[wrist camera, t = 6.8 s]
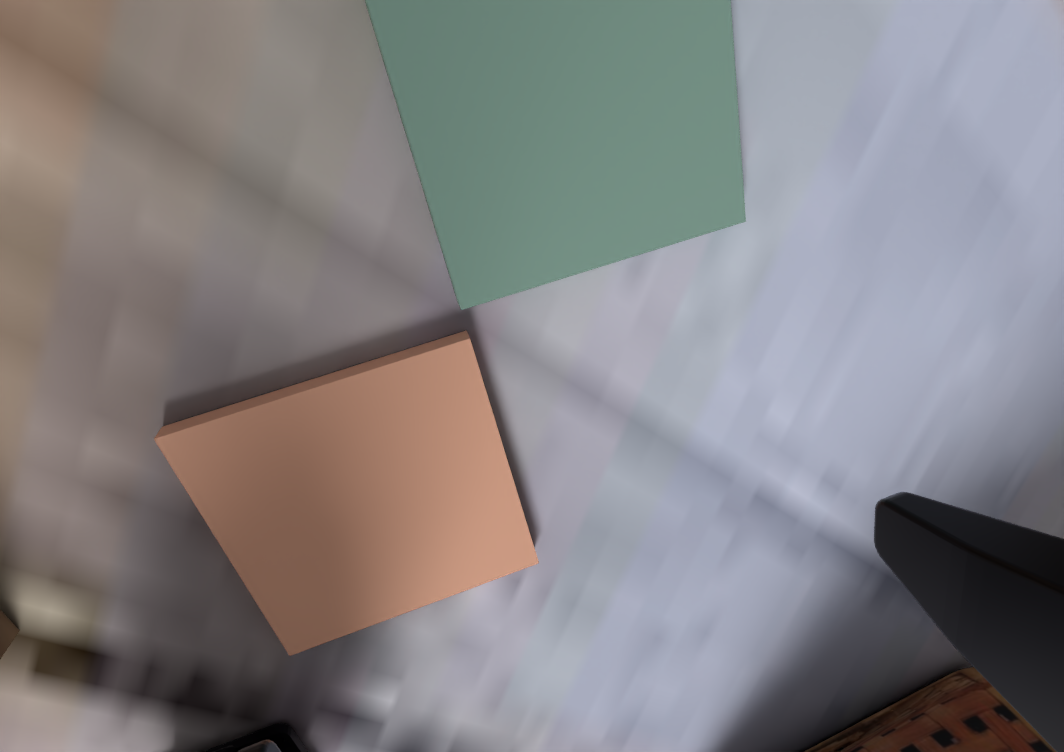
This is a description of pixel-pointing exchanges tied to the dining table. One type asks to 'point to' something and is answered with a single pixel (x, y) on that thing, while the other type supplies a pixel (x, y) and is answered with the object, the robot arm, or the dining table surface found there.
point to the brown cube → (6, 633)
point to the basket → (943, 722)
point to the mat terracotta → (358, 491)
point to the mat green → (564, 130)
